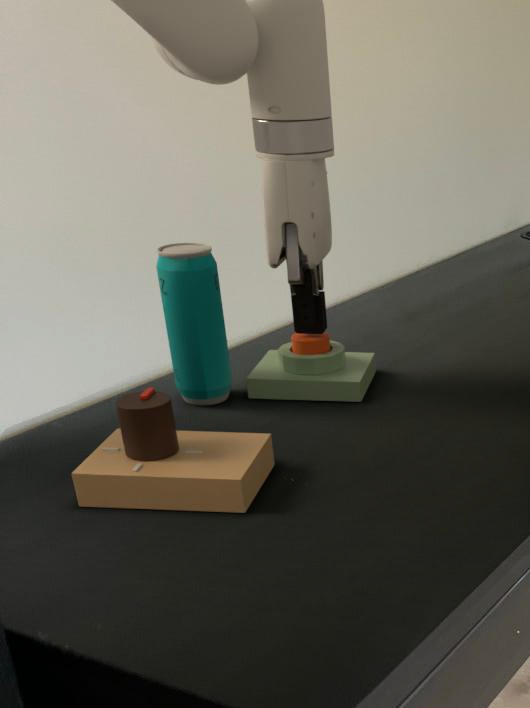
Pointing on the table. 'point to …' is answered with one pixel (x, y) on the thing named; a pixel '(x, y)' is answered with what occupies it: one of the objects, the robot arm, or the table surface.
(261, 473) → the dial panel
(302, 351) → the switch button
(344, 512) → the table surface
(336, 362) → the switch base
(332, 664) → the table surface
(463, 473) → the table surface
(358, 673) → the table surface
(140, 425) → the dial
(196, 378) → the beverage can
